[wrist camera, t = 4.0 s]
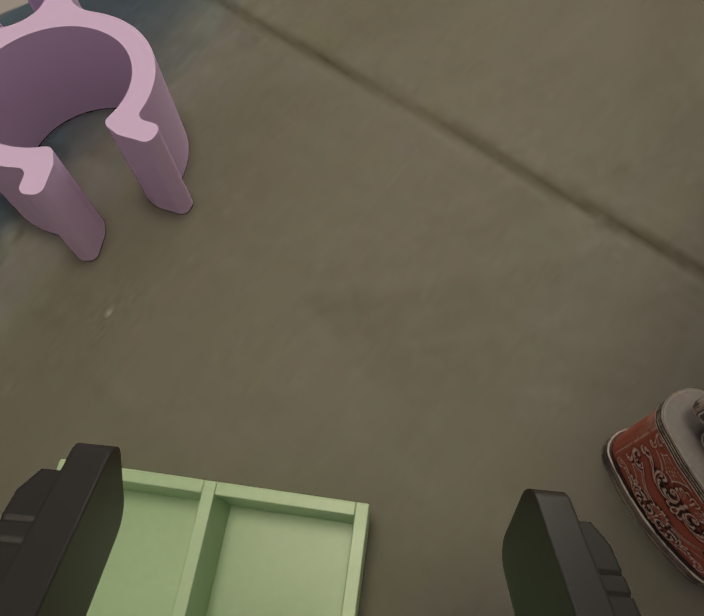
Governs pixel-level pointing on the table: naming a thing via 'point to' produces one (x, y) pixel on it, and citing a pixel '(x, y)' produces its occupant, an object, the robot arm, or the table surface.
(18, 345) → the table surface
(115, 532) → the robot arm
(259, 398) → the table surface
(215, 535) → the organizer
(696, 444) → the lighter
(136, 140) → the clip
